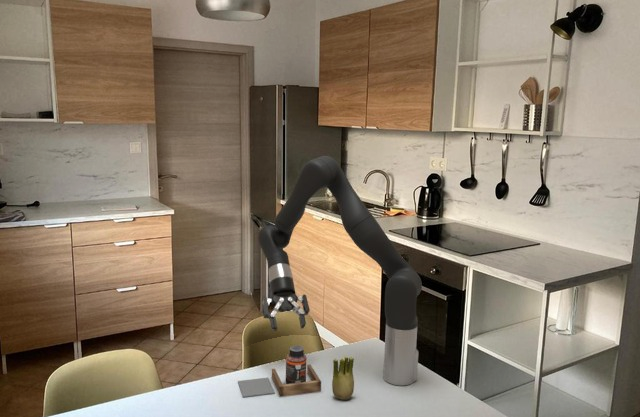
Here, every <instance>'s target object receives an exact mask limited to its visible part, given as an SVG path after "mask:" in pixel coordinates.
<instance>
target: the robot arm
mask: <svg viewBox="0 0 640 417" xmlns="http://www.w3.org/2000/svg"><path fill="white" fill-rule="evenodd" d="M325 188H327V189H328V191H329V192H330V193H331V195H332V197H333V198H334V200H335V201H336V203H337V206H338V209H339V210H338V211H339V214H340V215H339V216H340V218H341V219H340V220H341V222H342V223H341V224H342V225H343V226H342V227H343V228H344V230H345V232H346V233H347V235H348V236H349V238H350V239H351V240H352V241H353V243H354V244H355V245H356V247H357V248H359V249H360V251H362V252H363V253H364V254H365V255H367V256H368V257H369V258H371V259H372V260H373V261H374V262H376V263H377V264H378V266H379V267H380V268H381V269H382V271H383V272H384V274H385V276H386V277H387V278H388V280H387V282H386V284H385V290H384V315H385V319H386V320H385V336H384V338H385V339H384V354H383V356H384V357H383V371H382V372H383V375H382V376H383V377H382V378H383V379H384V381H385V382H387V383H389V384H390V385H391V384H392V385H394V386H409V385H411V384H413V383H414V382H417V381H418V365H419V350H418V349H417V341H418V340H417V338H418V336H417V335H418V324H419V322H418V321H419V319H418V318H419V317H418V316H417V299H418V298H417V297H418V296H419V295H420V293H421V292H422V287H423V283H422V279H421V277H420V275H419V274H418V273H417V271H415V269H414V267H412V266H411V265H410V264H409V262H407V260H405V258H404V257H403V256H402V254H400V253H399V251H398V250H397V248H396V247H395V245H394V244H393V242H392V241H391V240H390V238H389V236H388V235H387V234H386V232H385V231H384V230H383V229H382V227H381V225H380V223H379V222H378V221H377V219H376V218H375V217H374V215H373V214H372V213H371V211H370V210H369V209H368V208H367V207H366V205H365V204H364V202H363V201H362V199H361V198H360V196H359V195H358V193H357V192H356V191H355V189H354V187H353V186H352V185H351V182H350V181H349V179H348V178H347V175H346V174H345V173H344V170H343V168H342V167H341V166H340V164H339V163H338V161H336V160H335V158H333V157H331V156H329V155H322V156H318V157H316V158H314V159H311V160H309V161H307V162H306V163H305V164H304V166H303V167H302V169H301V171H300V173H299V175H298V177H297V180H296V183H295V184H294V186H293V189H292V191H291V193H290V194H289V196H288V198H287V199H286V201H285V203H284V204H283V206H282V207H281V208H280V210H279V211H278V213H277V214H276V216H275V218H274V219H273V220H274V226H272V225H265V226H262V227H261V228H260V230H259V231H258V235H257V236H258V244H259V246H260V248H261V250H262V253H263V255H264V258H265V259H266V263H267V267H268V268H267V269H268V282H269V286H270V287H269V288H270V293H271V298H268V297H264V298H263V299H262V302H261V303H262V314H263V315H262V316H263V319H268V320H269V321H270V328H271V330H273V332H277V330H278V324H277V318H276V315H277V313H278V312H281V313H283V312H291V311H292V312H293V313H294V314H296V315H297V316H298V320H299V324H300V329H301V330H302V329H304V328H305V327H306V324H307V322H306V316H308V315H309V313H310V310H311V309H310V306H309V301H308V299H307V298H308V297H307V295H306V294H302V295H300V296H298V295H297V293H296V289H295V288H296V287H295V284H294V278H293V273H292V272H293V271H292V269H291V265H290V260H289V255H288V253H287V251H285V250H284V249H285V248H286V247H287V246H289V244H290V243H291V242H290V241H291V237H292V235H293V231H294V229H295V227H296V226H297V224H298V223H299V222H300V220H301V219H302V218H303V217H304V213H305V211H306V208H307V204H308V202H309V200H310V199H311V198H312V197H314V195H315V194H316V193H317V192H319V190H321V189H325ZM297 302H299V303H300V304H302V308H301V306H300V305H299V304H298V303H297ZM270 303H271V304H272V306H274V307H273V310H272V311H271V312H269V306H270Z"/></svg>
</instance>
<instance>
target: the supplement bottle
mask: <svg viewBox="0 0 640 417" xmlns="http://www.w3.org/2000/svg"><path fill="white" fill-rule="evenodd" d="M304 349H305V348H304V347H303V346H300V345H293V346H290V347H289V353H288V354H287V355H286V357H285V384H292V383H300V382H307V362H308V360H307V359H308V358H307V355H306V354H305V353H304Z"/></svg>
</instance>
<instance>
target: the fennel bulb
mask: <svg viewBox="0 0 640 417" xmlns="http://www.w3.org/2000/svg"><path fill="white" fill-rule="evenodd" d="M338 360H339V361H338ZM354 360H355V358H354V357H352V356H346V355H345V356H344V357H341V358H340V359H338V358H336V357H335V358H333V361H332V363H333V368H332V369H333V371H332V380H331V381H332V382H331V383H332V384H331V386H332V389H331V390H332V394H333V396H334V398H336V399H339V400H341V401H347V400H350V399H351V398H352V396H353V394H354V391H355V380H354V372H353V371H354V370H353V369H354Z"/></svg>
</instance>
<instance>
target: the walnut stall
mask: <svg viewBox="0 0 640 417" xmlns="http://www.w3.org/2000/svg"><path fill="white" fill-rule="evenodd" d="M306 376H308V378H309V379H310V380H309V381H306V382H300V383H292V384H286V383H285V384H284V383H283V382H282V380H281V378H280V376H279V374H278V372H277V370H276V368H271V380H272V383H273V384H274V387H275V388H276V392H277V394H278V396H279V398H281V397H290V396H297V395H303V394H312V393H313V394H314V393H320V392H322V380H321V379H320V377H319V375H318V374H317V372H316V371H315V368H313V366H312V365H311V364H306Z"/></svg>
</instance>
